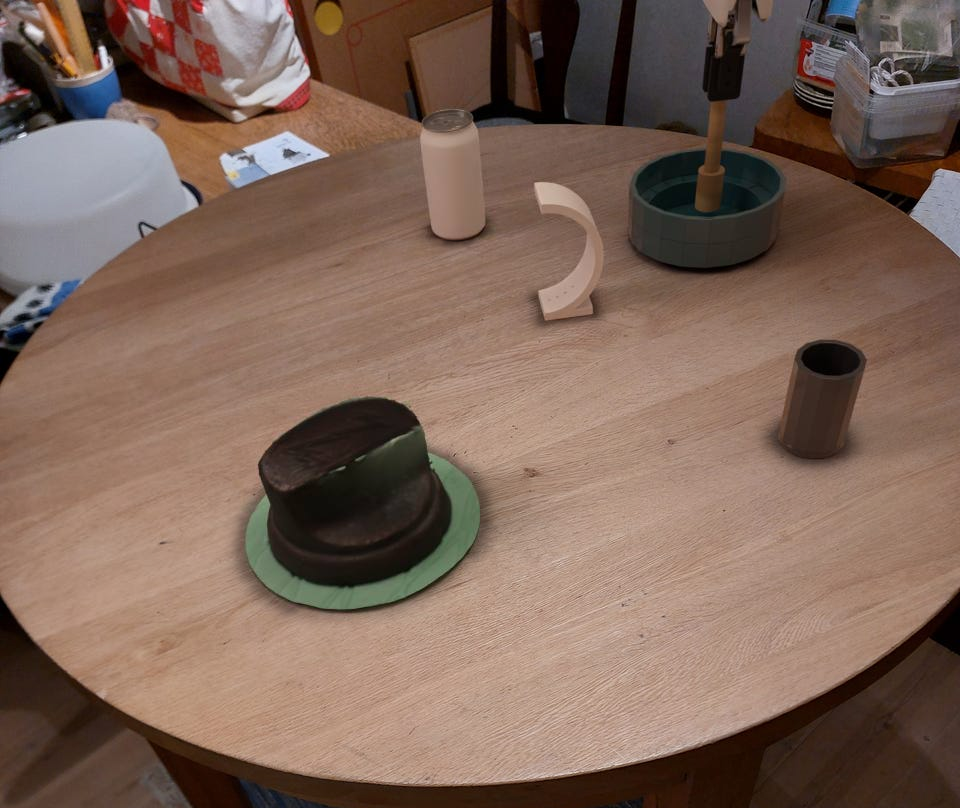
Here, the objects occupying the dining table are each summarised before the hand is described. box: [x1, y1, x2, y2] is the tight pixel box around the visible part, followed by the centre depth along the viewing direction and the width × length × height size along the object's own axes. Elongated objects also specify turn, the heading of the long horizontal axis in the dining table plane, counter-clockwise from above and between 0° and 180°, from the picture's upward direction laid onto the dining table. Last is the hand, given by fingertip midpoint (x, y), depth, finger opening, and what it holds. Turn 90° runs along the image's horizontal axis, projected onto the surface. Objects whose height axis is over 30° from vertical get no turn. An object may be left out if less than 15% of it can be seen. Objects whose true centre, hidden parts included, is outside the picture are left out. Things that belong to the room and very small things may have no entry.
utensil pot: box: [778, 339, 868, 460], centre depth 75 cm, size 5×6×8 cm
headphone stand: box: [533, 181, 605, 322], centre depth 90 cm, size 5×6×12 cm
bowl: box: [627, 147, 788, 269], centre depth 98 cm, size 16×16×6 cm
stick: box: [695, 29, 732, 212], centre depth 94 cm, size 3×3×17 cm
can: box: [419, 108, 486, 241], centre depth 102 cm, size 6×6×12 cm
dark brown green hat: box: [244, 395, 481, 610], centre depth 74 cm, size 15×19×20 cm
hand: (720, 93), depth 92 cm, fingers closed on stick, 1 cm apart
